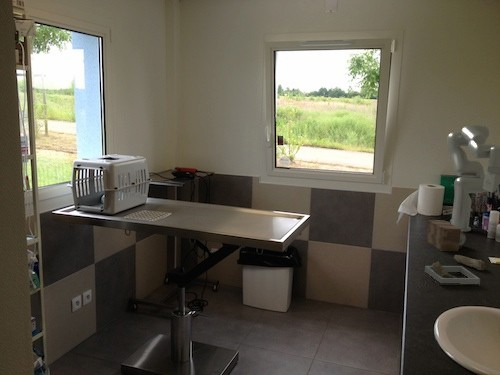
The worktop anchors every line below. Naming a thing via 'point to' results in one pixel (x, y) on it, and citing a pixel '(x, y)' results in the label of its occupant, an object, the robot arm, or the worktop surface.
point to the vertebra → (441, 270)
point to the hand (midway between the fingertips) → (490, 204)
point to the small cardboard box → (443, 235)
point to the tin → (462, 239)
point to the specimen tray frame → (470, 280)
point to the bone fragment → (470, 262)
